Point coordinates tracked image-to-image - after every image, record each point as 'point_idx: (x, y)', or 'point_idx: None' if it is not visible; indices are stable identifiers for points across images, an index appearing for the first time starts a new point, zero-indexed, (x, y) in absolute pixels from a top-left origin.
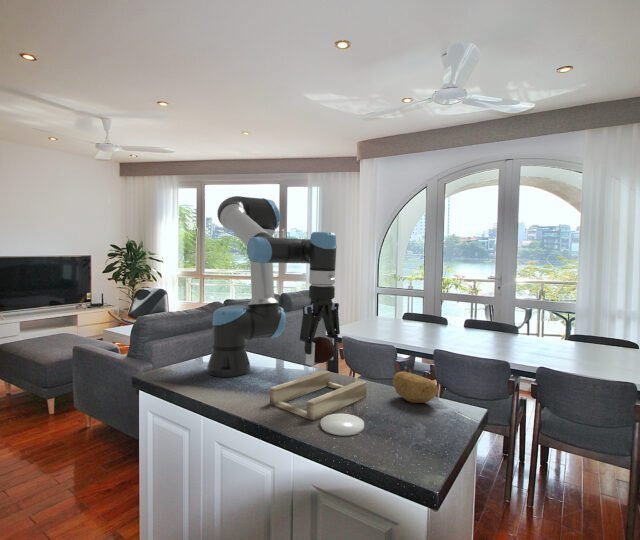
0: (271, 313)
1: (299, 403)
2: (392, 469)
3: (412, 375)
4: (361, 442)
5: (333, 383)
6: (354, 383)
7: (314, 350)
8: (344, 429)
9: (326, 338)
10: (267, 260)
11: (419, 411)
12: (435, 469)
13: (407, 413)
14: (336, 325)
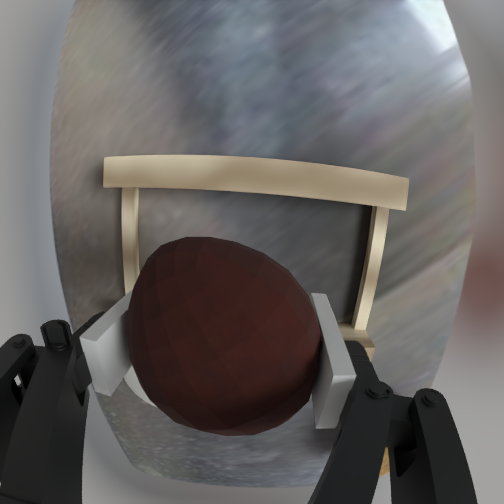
0: None
1: (184, 225)
2: (129, 446)
3: (388, 461)
4: (145, 414)
5: (381, 227)
6: None
7: (129, 365)
8: (143, 391)
9: (260, 422)
10: None
11: (330, 441)
12: (167, 472)
13: (307, 434)
14: (392, 501)
